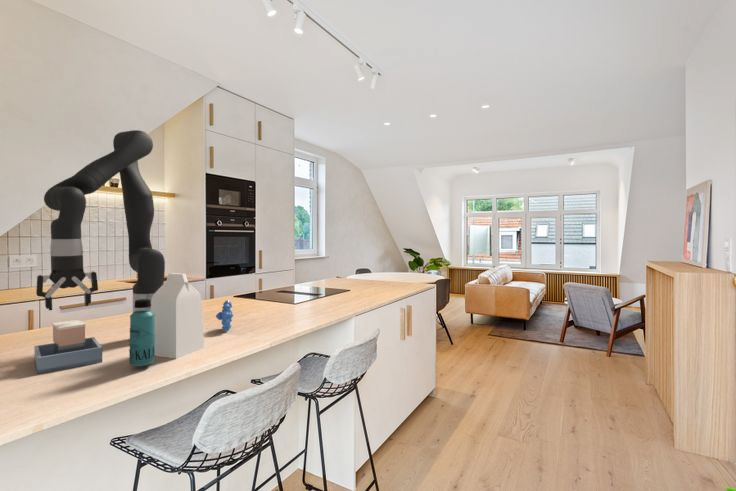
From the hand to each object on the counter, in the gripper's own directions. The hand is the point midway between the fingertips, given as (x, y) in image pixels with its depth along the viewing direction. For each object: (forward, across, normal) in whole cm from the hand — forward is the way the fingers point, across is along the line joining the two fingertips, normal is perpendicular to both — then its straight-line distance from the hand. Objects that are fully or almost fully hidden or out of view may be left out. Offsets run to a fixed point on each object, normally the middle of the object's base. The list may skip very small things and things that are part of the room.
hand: (68, 307), depth 111 cm
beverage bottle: (+17, -14, +20) cm, 30 cm away
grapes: (+18, -50, -4) cm, 53 cm away
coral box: (+10, 0, 0) cm, 10 cm away
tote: (+16, 0, 0) cm, 16 cm away
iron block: (+15, 0, 0) cm, 15 cm away
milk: (+17, -26, +11) cm, 33 cm away
